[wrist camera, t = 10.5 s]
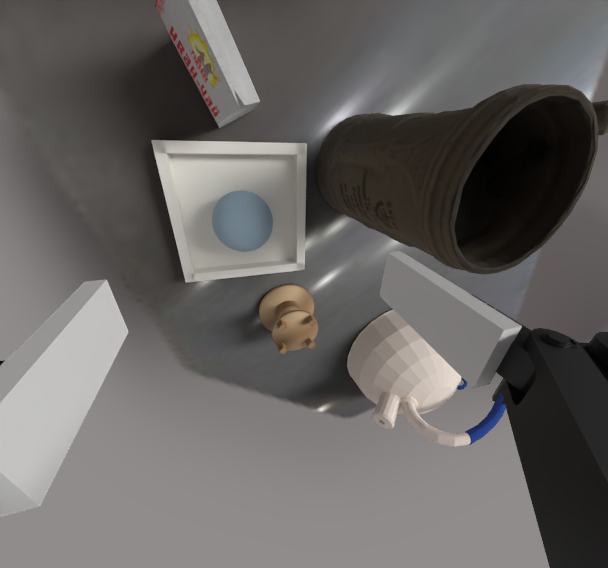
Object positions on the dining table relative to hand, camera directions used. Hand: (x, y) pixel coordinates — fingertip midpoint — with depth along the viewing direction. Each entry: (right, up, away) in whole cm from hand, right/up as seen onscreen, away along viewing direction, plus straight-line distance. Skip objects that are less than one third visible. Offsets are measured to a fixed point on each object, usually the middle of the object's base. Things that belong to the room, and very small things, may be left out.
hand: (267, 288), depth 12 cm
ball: (-5, +8, +16) cm, 18 cm away
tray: (-5, +8, +16) cm, 19 cm away
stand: (-1, -3, +24) cm, 24 cm away
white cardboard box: (-6, +19, +10) cm, 22 cm away
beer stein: (+10, +16, +17) cm, 25 cm away
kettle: (+19, -12, +36) cm, 42 cm away
